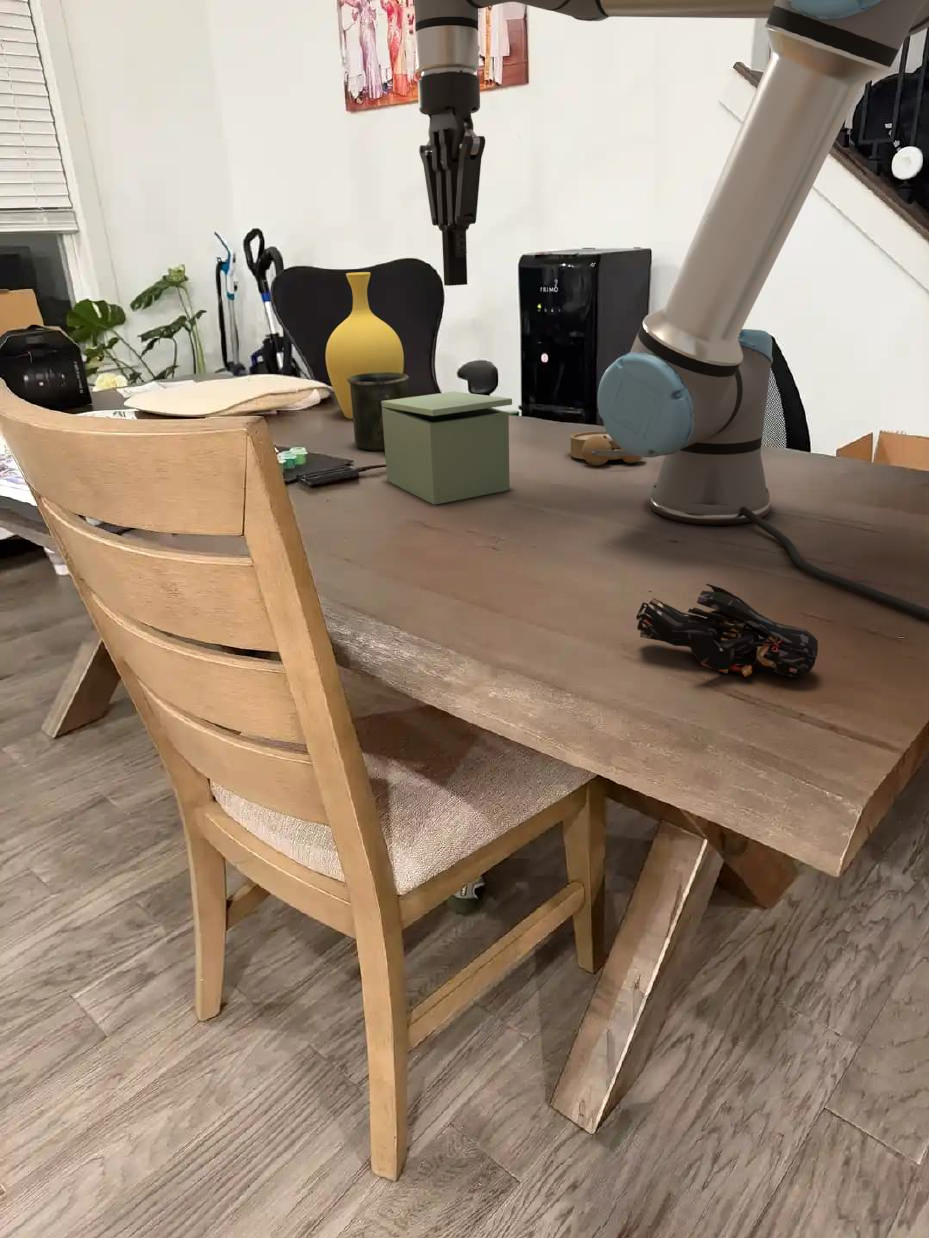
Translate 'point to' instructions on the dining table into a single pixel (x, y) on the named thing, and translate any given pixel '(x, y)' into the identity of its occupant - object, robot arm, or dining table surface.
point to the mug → (373, 404)
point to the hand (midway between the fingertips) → (455, 284)
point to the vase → (360, 345)
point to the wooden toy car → (598, 448)
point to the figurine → (730, 635)
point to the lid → (446, 403)
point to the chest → (447, 453)
